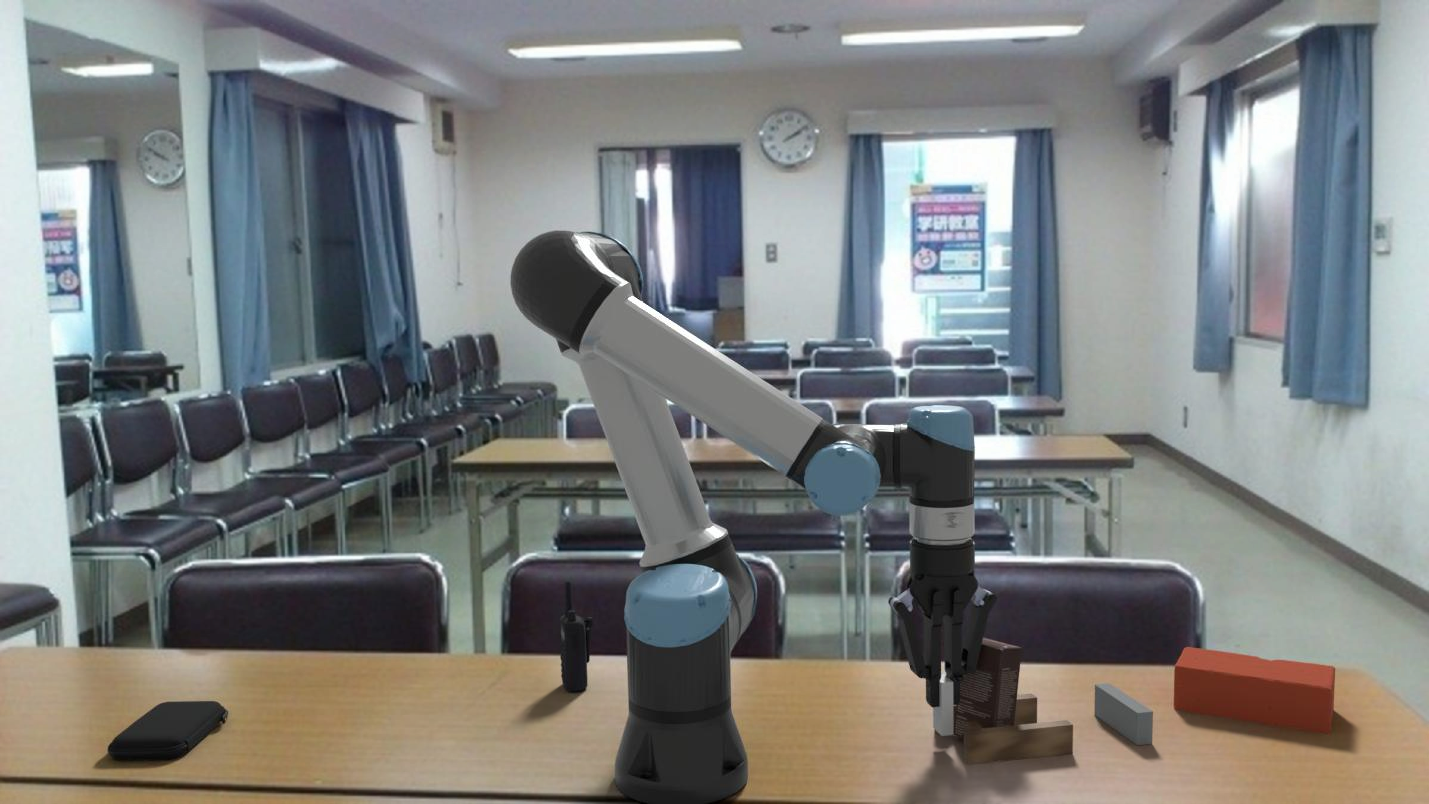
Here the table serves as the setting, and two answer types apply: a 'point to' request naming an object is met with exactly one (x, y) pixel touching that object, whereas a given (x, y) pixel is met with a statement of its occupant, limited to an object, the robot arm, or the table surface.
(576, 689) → the two-way radio
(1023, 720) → the brown piece
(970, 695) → the box
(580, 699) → the table surface
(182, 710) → the carrying case or bag
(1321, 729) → the brick
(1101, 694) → the end stop
